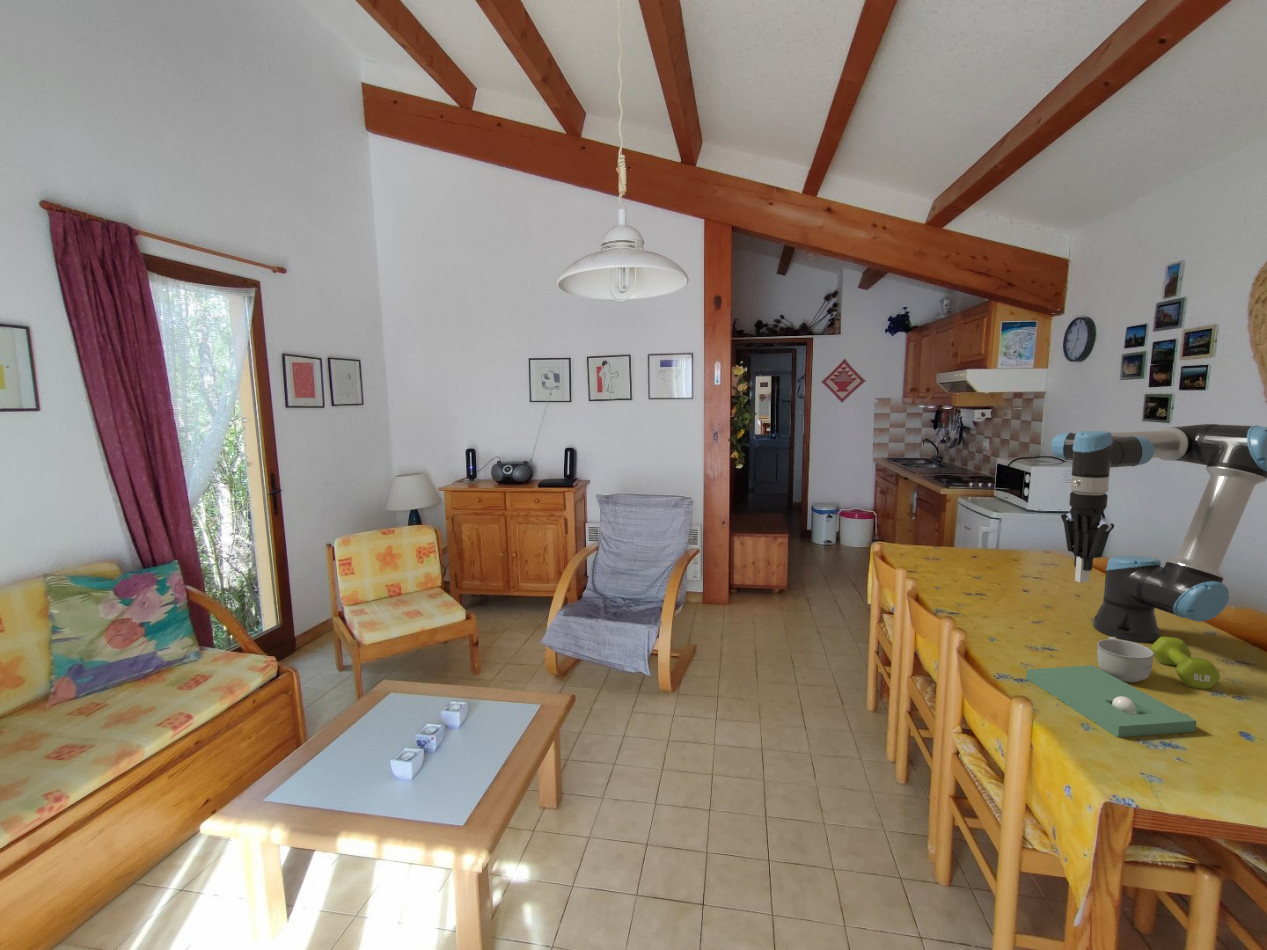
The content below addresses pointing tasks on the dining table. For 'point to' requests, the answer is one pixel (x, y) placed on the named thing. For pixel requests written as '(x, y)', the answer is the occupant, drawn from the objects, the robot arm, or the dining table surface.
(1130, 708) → the ball
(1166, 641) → the dumbbell
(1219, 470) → the robot arm
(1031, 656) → the dining table surface
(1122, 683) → the putting mat
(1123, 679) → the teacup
